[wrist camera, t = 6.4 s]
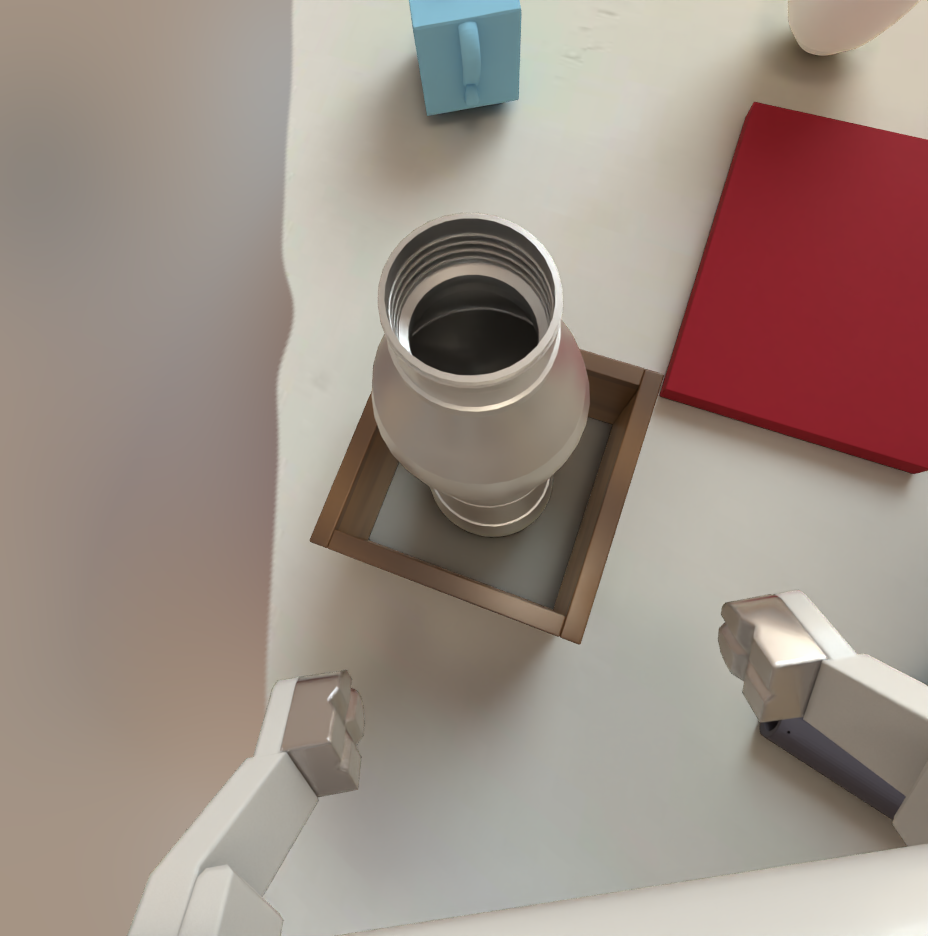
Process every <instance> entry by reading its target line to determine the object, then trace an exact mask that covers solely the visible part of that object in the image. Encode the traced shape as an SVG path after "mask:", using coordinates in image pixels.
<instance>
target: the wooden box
mask: <svg viewBox="0 0 928 936" xmlns="http://www.w3.org/2000/svg"><path fill="white" fill-rule="evenodd" d="M580 352H581V355H582V357H583V360H584V364H585V368H586V372H587V376H588V380H589V393H590V406H589V411H588V417H591V418H594V419H597V420H601V421H604V422H607V423H610V424H613V426H612V429H611V432H610V435H609V438H608V441H607V444H606V448H605V451H604V454H603V457H602V460H601V463H600V466H599V469H598V472H597V475H596V479H595V482H594V485H593V488H592V491H591V494H590V497H589V500H588V503H587V506H586V509H585V513H584V516H583V519H582V522H581V525H580V528H579V531H578V534H577V537H576V540H575V543H574V547H573V550H572V553H571V556H570V559H569V562H568V565H567V568H566V571H565V574H564V578H563V581H562V584H561V587H560V590H559V593H558V596H557V599H556V602H555V605H554V608H553V610H552V609H550V608H548V607H545V606H542V605H540V604H537V603H534V602H532V601H529V600H526V599H524V598H521V597H518V596H516V595H513V594H510V593H508V592H505V591H502V590H500V589H497V588H494V587H492V586H489V585H487V584H484V583H481V582H479V581H476V580H473V579H471V578H468V577H465V576H463V575H460V574H457V573H455V572H452V571H449V570H447V569H444V568H441V567H439V566H436V565H433V564H431V563H428V562H425V561H423V560H420V559H417V558H415V557H412V556H409V555H407V554H404V553H401V552H399V551H396V550H393V549H391V548H388V547H385V546H383V545H380V544H377V543H375V542H372V541H369V540H368V539H369V536H370V534H371V531H372V528H373V526H374V523H375V521H376V518H377V516H378V513H379V511H380V508H381V506H382V503H383V501H384V498H385V496H386V493H387V491H388V488H389V485H390V483H391V480H392V478H393V475H394V473H395V470H396V468H397V465H398V463H399V461H398V460H397V459H396V458H395V457H394V456H393V455H392V453H391V451H390V450H389V448H388V446H387V445H386V443H385V441H384V440H383V438H382V437H381V434H380V431H379V428H378V425H377V423H376V420H375V417H374V410H373V404H372V391H371V394H370V396H369V399H368V401H367V404H366V406H365V408H364V411H363V413H362V416H361V418H360V420H359V423H358V425H357V428H356V430H355V432H354V435H353V437H352V440H351V442H350V444H349V447H348V449H347V452H346V454H345V456H344V459H343V461H342V464H341V466H340V468H339V471H338V473H337V476H336V478H335V480H334V483H333V485H332V488H331V490H330V493H329V495H328V497H327V500H326V502H325V505H324V507H323V509H322V512H321V514H320V517H319V519H318V521H317V524H316V526H315V529H314V531H313V533H312V536H311V538H310V542H312V543H315V544H317V545H320V546H323V547H325V548H328V549H330V550H333V551H336V552H338V553H341V554H344V555H346V556H349V557H351V558H354V559H357V560H359V561H362V562H364V563H367V564H370V565H372V566H375V567H378V568H380V569H383V570H385V571H388V572H391V573H393V574H396V575H398V576H401V577H404V578H406V579H409V580H411V581H414V582H417V583H419V584H422V585H425V586H427V587H430V588H432V589H435V590H438V591H440V592H443V593H445V594H448V595H451V596H453V597H456V598H458V599H461V600H464V601H466V602H469V603H472V604H474V605H477V606H479V607H482V608H485V609H487V610H490V611H492V612H495V613H498V614H500V615H503V616H505V617H508V618H511V619H513V620H516V621H519V622H521V623H524V624H526V625H529V626H532V627H534V628H537V629H539V630H542V631H545V632H547V633H550V634H552V635H555V636H558V637H559V636H560V637H561V638H563V639H566V640H568V641H571V642H573V643H576V644H581V641H582V638H583V634H584V631H585V628H586V625H587V622H588V618H589V615H590V612H591V609H592V605H593V602H594V599H595V596H596V593H597V589H598V586H599V583H600V580H601V576H602V573H603V570H604V567H605V564H606V560H607V557H608V554H609V551H610V547H611V544H612V541H613V538H614V535H615V531H616V528H617V525H618V522H619V518H620V515H621V512H622V509H623V505H624V502H625V499H626V496H627V493H628V489H629V486H630V483H631V480H632V476H633V473H634V470H635V467H636V464H637V460H638V457H639V454H640V451H641V447H642V444H643V441H644V438H645V435H646V431H647V428H648V425H649V422H650V418H651V415H652V412H653V409H654V406H655V402H656V399H657V396H658V393H659V389H660V386H661V383H662V380H663V377H664V375H663V374H661V373H658V372H654V371H651V370H648V369H645V370H644V368H642V367H638V366H635V365H632V364H628V363H625V362H621V361H618V360H615V359H611V358H608V357H605V356H601V355H598V354H595V353H591V352H588V351H585V350H581V349H580Z"/></svg>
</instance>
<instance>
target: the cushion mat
mask: <svg viewBox="0 0 928 936" xmlns="http://www.w3.org/2000/svg"><path fill="white" fill-rule="evenodd" d="M660 396H661V397H664V398H668V399H671V400H674V401H677V402H681V403H684V404H687V405H690V406H694V407H697V408H700V409H704V410H707V411H710V412H713V413H717V414H720V415H723V416H726V417H730V418H733V419H736V420H739V421H743V422H746V423H749V424H753V425H756V426H759V427H762V428H766V429H769V430H772V431H775V432H779V433H782V434H785V435H788V436H792V437H795V438H798V439H801V440H805V441H808V442H811V443H815V444H818V445H821V446H824V447H828V448H831V449H834V450H837V451H841V452H844V453H847V454H850V455H854V456H857V457H860V458H864V459H867V460H870V461H873V462H877V463H880V464H883V465H886V466H890V467H893V468H896V469H899V470H903V471H906V472H909V473H913V474H916V473H920V472H924V471H928V140H926V139H922V138H917V137H913V136H908V135H903V134H899V133H894V132H890V131H885V130H881V129H876V128H872V127H867V126H862V125H858V124H853V123H849V122H844V121H840V120H835V119H831V118H826V117H822V116H817V115H812V114H808V113H803V112H799V111H794V110H790V109H785V108H781V107H776V106H772V105H767V104H762V103H758V102H754V103H753V105H752V106H751V108H750V110H749V112H748V114H747V116H746V118H745V121H744V124H743V127H742V131H741V134H740V137H739V140H738V143H737V147H736V150H735V153H734V156H733V160H732V163H731V166H730V169H729V173H728V176H727V179H726V182H725V185H724V189H723V192H722V195H721V198H720V202H719V205H718V208H717V211H716V214H715V218H714V221H713V224H712V227H711V231H710V234H709V237H708V240H707V244H706V247H705V250H704V253H703V256H702V260H701V263H700V266H699V269H698V273H697V276H696V279H695V282H694V286H693V289H692V292H691V295H690V298H689V302H688V305H687V308H686V311H685V315H684V318H683V321H682V324H681V328H680V331H679V334H678V337H677V340H676V344H675V347H674V350H673V353H672V357H671V360H670V363H669V366H668V370H667V373H666V376H665V379H664V382H663V386H662V389H661V392H660Z"/></svg>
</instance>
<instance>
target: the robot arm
mask: <svg viewBox="0 0 928 936" xmlns="http://www.w3.org/2000/svg"><path fill="white" fill-rule="evenodd" d="M721 616H722V617H723V619H724V621H725V623H724V624H723V625H722V626H721V627H720V628H719V632H718V643H719V647H720V652H721V654H722V657H723V659H724V662H725V664H726V665H727V667H728V669H729V671H730V672H731V674H733V675H735V676H736V677H738V678H739V679H741V680H742V681H744V685H743V691H742V693H743V695H744V696H745V698H746V700H747V701H748V703H749V705H750V706H751V708H752V710H753V712H754V713H755V715H756V717H757V718H758V720H759V722H760V723H762V722H769V721H777V720H784V719H791V718H798V717H804V718H803V719H804V720H805V721H806V722H808V723H809V724H810V725H812V726H813V727H814V728H816V729H817V730H818V731H820V732H821V733H822V734H824V735H825V736H826V737H828V738H829V739H830V740H832V741H833V742H834V743H836V744H837V745H838V746H840V747H841V748H842V749H844V750H845V751H846V752H848V753H849V754H850V755H852V756H853V757H854V758H855V759H857V760H858V761H859V762H861V763H862V764H863V765H865V766H866V767H867V768H869V769H870V770H871V771H873V772H874V773H875V774H877V775H878V776H879V777H881V778H882V779H883V780H885V781H886V782H887V783H889V784H890V785H891V786H893V787H894V788H895V789H897V790H898V791H899V792H901V793H902V794H903V795H905V796H906V797H905V799H904V801H903V802H902V804H901V806H900V807H899V809H898V811H897V812H896V814H895V816H894V820H893V823H892V824H893V826H894V827H895V829H896V830H897V832H898V833H899V835H900V836H901V838H902V839H903V841H904V842H905V843H906V845H907V846H908V847H901V848H895V849H889V850H882V851H876V852H869V853H863V854H856V855H850V856H844V857H837V858H831V859H824V860H818V861H811V862H805V863H798V864H792V865H786V866H779V867H773V868H766V869H760V870H753V871H747V872H741V873H734V874H728V875H721V876H715V877H708V878H702V879H696V880H689V881H683V882H676V883H670V884H663V885H657V886H650V887H644V888H638V889H631V890H625V891H618V892H612V893H605V894H599V895H593V896H586V897H580V898H573V899H567V900H560V901H554V902H548V903H541V904H535V905H528V906H522V907H515V908H509V909H502V910H496V911H490V912H483V913H477V914H470V915H464V916H458V917H451V918H445V919H438V920H432V921H425V922H419V923H413V924H406V925H400V926H393V927H387V928H380V929H374V930H368V931H361V932H355V933H348V934H342V935H336V936H928V685H926V684H924V683H922V682H920V681H918V680H916V679H914V678H912V677H910V676H908V675H906V674H904V673H903V672H901V671H899V670H897V669H895V668H893V667H891V666H889V665H887V664H885V663H883V662H881V661H879V660H877V659H875V658H873V657H871V656H869V655H868V654H866V653H865V654H857V653H856V652H855V651H854V650H853V648H852V647H851V646H850V645H849V644H848V643H847V641H846V640H845V639H844V638H843V637H842V636H841V635H840V633H839V632H838V631H837V630H836V629H835V628H834V626H833V625H832V624H831V623H830V622H829V621H828V620H827V618H826V617H825V616H824V615H823V614H822V613H821V612H820V610H819V609H818V608H817V607H816V606H815V605H814V603H813V602H812V601H811V600H810V599H809V598H808V597H807V595H806V594H805V593H803V592H802V591H800V590H793V591H788V592H783V593H777V594H773V595H772V594H768V595H763V596H758V597H752V598H747V599H742V600H737V601H731V602H726V603H725V604H724V605H723V606H722V611H721ZM351 684H352V678H351V676H350V674H349V672H348V670H343V671H336V672H329V673H323V674H316V675H309V676H303V677H296V678H290V679H284V680H278V681H277V682H276V684H275V685H274V687H273V688H272V691H271V695H270V698H269V702H268V705H267V709H266V712H265V716H264V720H263V723H262V727H261V730H260V734H259V738H258V741H257V745H256V749H255V752H254V756H253V757H251V758H247V759H246V760H245V761H244V762H243V763H242V765H240V767H239V768H238V769H237V770H236V771H235V773H234V774H233V775H232V776H231V777H230V779H229V780H228V781H227V782H226V783H225V785H224V786H223V787H222V788H221V789H220V791H219V792H218V793H217V794H216V795H215V797H214V798H213V799H212V800H211V801H210V803H209V804H208V805H207V806H206V808H205V809H204V810H203V811H202V812H201V814H200V815H199V816H198V817H197V818H196V819H195V821H194V822H193V823H192V824H191V826H190V827H189V828H188V829H187V830H186V831H185V833H184V834H183V835H182V836H181V837H180V839H179V840H178V841H177V842H176V843H175V845H174V846H173V847H172V848H171V849H170V851H169V852H168V853H167V854H166V856H165V857H164V858H163V859H162V860H161V861H160V863H159V864H158V865H157V866H156V867H155V869H154V870H153V871H152V872H151V874H150V875H149V878H148V880H147V883H146V886H145V888H144V891H143V894H142V897H141V899H140V902H139V904H138V907H137V910H136V912H135V915H134V918H133V920H132V923H131V926H130V928H129V931H128V933H127V936H281V932H282V926H283V919H282V917H281V915H280V914H279V912H277V911H276V910H275V909H274V908H273V907H272V906H271V905H270V904H269V903H268V902H267V901H266V900H265V899H264V898H263V895H264V894H265V892H266V890H267V888H268V887H269V885H270V883H271V882H272V880H273V878H274V876H275V875H276V873H277V871H278V870H279V868H280V866H281V864H282V863H283V861H284V859H285V857H286V856H287V854H288V852H289V851H290V849H291V847H292V845H293V844H294V842H295V840H296V839H297V837H298V835H299V833H300V832H301V830H302V828H303V826H304V825H305V823H306V821H307V820H308V818H309V816H310V814H311V813H312V811H313V809H314V808H315V806H316V804H317V802H318V801H319V799H318V797H322V796H328V795H333V794H338V793H343V792H348V791H353V790H358V785H359V775H360V766H361V755H360V753H359V751H358V749H357V747H356V746H357V744H358V743H359V741H360V740H361V739H362V737H363V736H364V724H365V720H364V707H363V703H362V699H361V696H360V694H359V692H358V691H357V690H355V689H353V688H351Z"/></svg>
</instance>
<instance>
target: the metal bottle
mask: <svg viewBox="0 0 928 936" xmlns="http://www.w3.org/2000/svg"><path fill="white" fill-rule="evenodd" d="M378 308H379V315H380V321H381V325H382V328H383V330H384V333H385V334H384V336H383V338H382V340H381V342H380V344H379V346H378V350H377V353H376V357H375V361H374V365H373V379H372V404H373V410H374V417H375V420H376V423H377V425H378V428H379V431H380V434H381V437H382V438H383V440H384V441H385V443H386V445H387V446H388V448H389V450H390V451H391V453H392V455H393V456H394V457H395V458H396V459H397V460H398V461H399V462H400V463H401V464H402V465H403V467H404V468H405V469H406V470H407V471H409V472H410V473H411V474H413V475H414V476H415V477H417V478H418V479H419V480H421V481H422V482H424V483H425V484H427V485H428V486H429V487H430V488H431V491H432V494H433V497H434V499H435V501H436V503H437V505H438V506H439V508H440V509H441V511H442V512H443V513H444V514H445V515H446V517H447V518H448V519H449V520H450V521H452V522H453V523H454V524H456V525H457V526H458V527H460V528H462V529H464V530H466V531H468V532H470V533H473V534H477V535H481V536H488V537H499V536H506V535H510V534H513V533H516V532H518V531H521V530H522V529H524V528H526V527H527V526H529V525H530V524H532V523H533V522H534V521H535V520H536V519H537V518H538V517H539V516H540V514H541V513H542V512H543V510H544V509H545V507H546V506H547V503H548V501H549V498H550V496H551V492H552V487H553V474H554V473H555V472H556V471H557V470H558V469H560V468H561V467H562V465H563V464H564V463H565V462H566V461H567V460H568V458H569V457H570V455H571V454H572V452H573V451H574V449H575V448H576V446H577V445H578V443H579V441H580V438H581V436H582V433H583V431H584V428H585V426H586V423H587V417H588V411H589V406H590V393H589V380H588V376H587V372H586V368H585V364H584V360H583V357H582V355H581V352H580V349H579V347H578V345H577V343H576V341H575V339H574V337H573V335H572V333H571V331H570V330H569V329H568V327H567V326H566V325H565V323H564V322H563V321H562V319H561V318H562V313H563V292H562V285H561V281H560V276H559V272H558V270H557V267H556V265H555V263H554V261H553V259H552V257H551V255H550V254H549V253H548V251H547V250H546V249H545V247H544V246H543V245H542V243H541V242H540V241H539V240H538V239H536V238H535V237H534V236H533V235H532V234H531V233H530V232H528V231H527V230H526V229H524V228H522V227H520V226H519V225H517V224H515V223H514V222H512V221H509V220H506V219H503V218H501V217H498V216H494V215H489V214H483V213H458V214H452V215H446V216H442V217H440V218H437V219H434V220H432V221H429V222H427V223H425V224H423V225H422V226H420V227H418V228H417V229H415V230H413V231H412V232H411V233H410V234H409V235H407V236H406V237H405V238H404V239H403V240H402V241H401V242H400V243H399V244H398V245H397V247H396V248H395V249H394V251H393V252H392V253H391V254H390V256H389V258H388V260H387V262H386V264H385V266H384V268H383V271H382V275H381V278H380V282H379V288H378Z"/></svg>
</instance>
